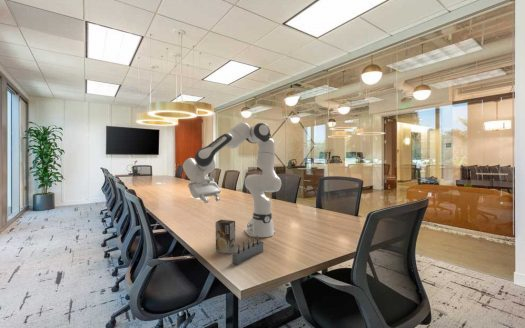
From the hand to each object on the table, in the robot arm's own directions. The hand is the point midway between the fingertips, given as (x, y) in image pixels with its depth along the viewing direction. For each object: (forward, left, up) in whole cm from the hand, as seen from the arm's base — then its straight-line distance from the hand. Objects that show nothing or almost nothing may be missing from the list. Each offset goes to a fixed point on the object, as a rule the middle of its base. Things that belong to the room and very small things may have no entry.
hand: (212, 201), depth 144 cm
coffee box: (+8, +4, -26) cm, 28 cm away
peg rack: (+22, +11, -26) cm, 36 cm away
